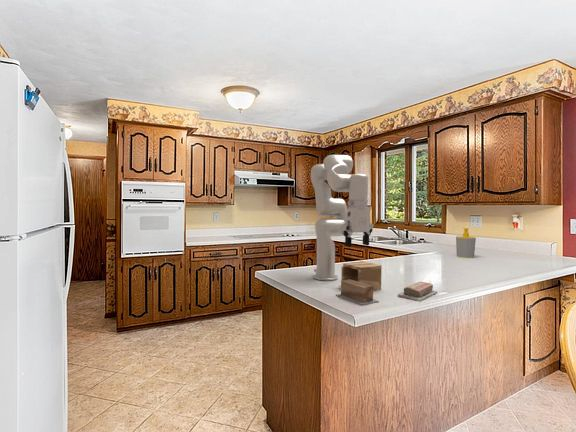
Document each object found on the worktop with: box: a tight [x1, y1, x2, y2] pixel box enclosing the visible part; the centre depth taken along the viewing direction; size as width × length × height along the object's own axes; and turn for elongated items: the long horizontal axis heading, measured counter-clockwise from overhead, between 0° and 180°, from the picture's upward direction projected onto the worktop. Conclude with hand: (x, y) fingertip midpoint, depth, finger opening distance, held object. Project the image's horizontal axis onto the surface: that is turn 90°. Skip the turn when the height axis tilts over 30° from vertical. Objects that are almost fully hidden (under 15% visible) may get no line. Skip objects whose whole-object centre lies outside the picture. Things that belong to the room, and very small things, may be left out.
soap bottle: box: [455, 227, 477, 259], centre depth 256 cm, size 13×13×21 cm
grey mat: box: [335, 293, 380, 306], centre depth 144 cm, size 16×9×1 cm, turn 31°
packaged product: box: [397, 281, 438, 302], centre depth 151 cm, size 18×5×10 cm
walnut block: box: [340, 279, 374, 303], centre depth 145 cm, size 5×14×6 cm, turn 31°
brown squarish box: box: [340, 260, 383, 292], centre depth 161 cm, size 12×13×11 cm
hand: (357, 245), depth 144 cm, fingers open, 9 cm apart
